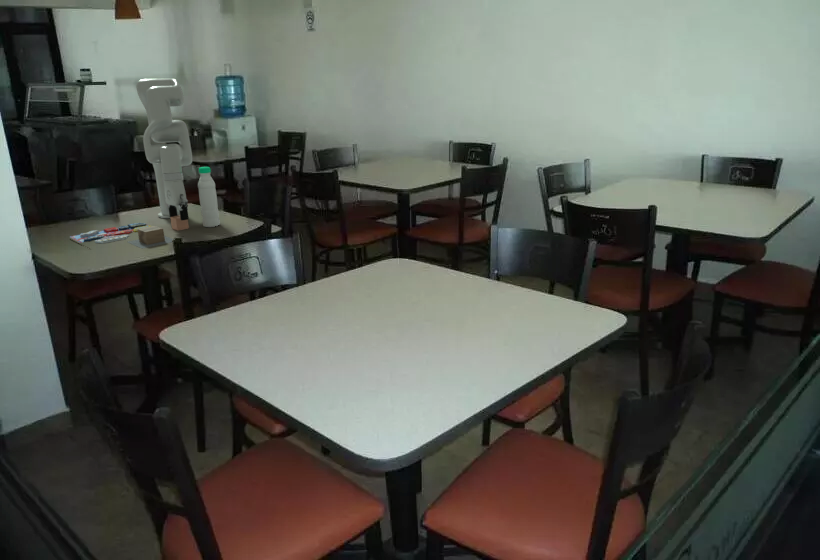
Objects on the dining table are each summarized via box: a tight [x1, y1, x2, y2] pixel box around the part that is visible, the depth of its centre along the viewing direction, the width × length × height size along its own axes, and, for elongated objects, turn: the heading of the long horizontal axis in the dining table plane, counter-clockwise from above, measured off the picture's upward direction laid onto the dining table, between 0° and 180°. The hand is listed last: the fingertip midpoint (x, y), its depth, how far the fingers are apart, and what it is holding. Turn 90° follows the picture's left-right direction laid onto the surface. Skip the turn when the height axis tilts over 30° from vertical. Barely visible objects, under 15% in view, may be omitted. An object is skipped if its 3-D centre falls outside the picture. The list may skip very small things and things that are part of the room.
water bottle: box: [197, 166, 221, 228], centre depth 260 cm, size 7×7×25 cm
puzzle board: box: [69, 222, 152, 250], centre depth 250 cm, size 30×23×3 cm
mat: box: [127, 235, 174, 249], centre depth 238 cm, size 14×14×1 cm
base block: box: [137, 225, 165, 245], centre depth 237 cm, size 7×7×5 cm
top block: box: [169, 215, 190, 232], centre depth 256 cm, size 5×5×6 cm
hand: (179, 218), depth 255 cm, fingers open, 9 cm apart
